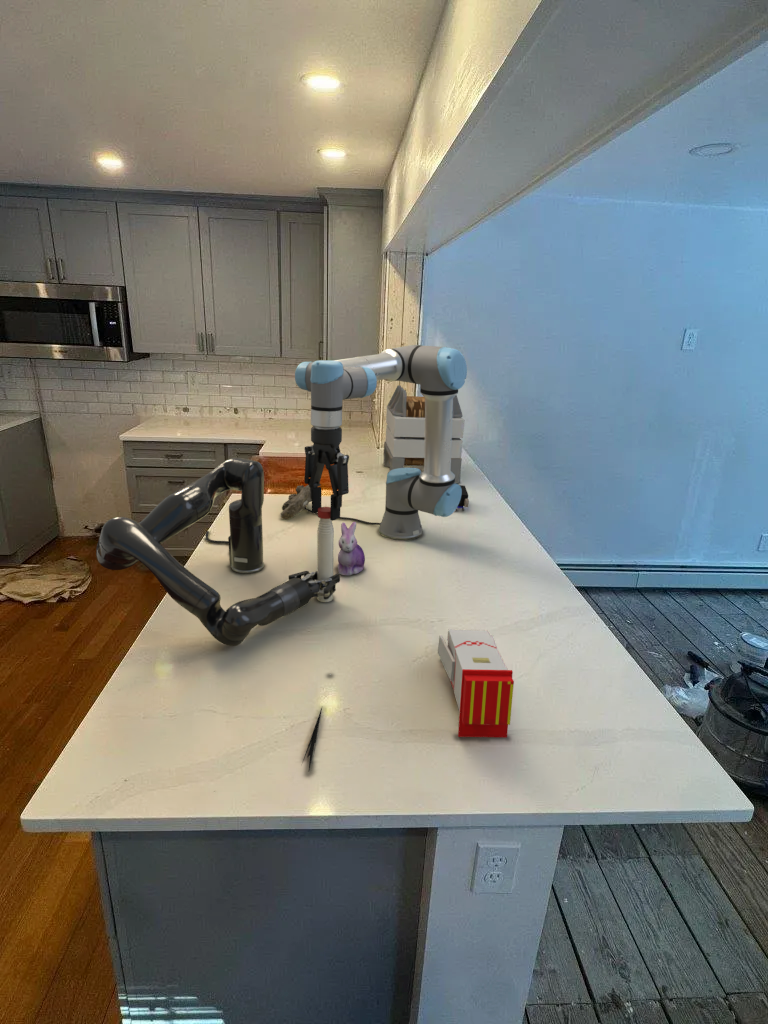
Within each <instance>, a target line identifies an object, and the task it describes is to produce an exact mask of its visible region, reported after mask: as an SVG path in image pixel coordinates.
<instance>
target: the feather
mask: <svg viewBox="0 0 768 1024" xmlns="http://www.w3.org/2000/svg"><path fill="white" fill-rule="evenodd" d="M329 675H330V676H331V675H332V674H331V673H330V674H329ZM322 710H323V707H321V708H320V710H319V713H318V716H317V719H316V723H315V725H314V728H313V731H312V733H311V737H310V739H309V742H308V745H307V748H306V751H305V754H304V757H303V760H302V763H301V767H302V765H303V763H304V761H305V758H308V759H309V760H308V762H307V763H308V764H307V766H308V771H310V770H311V766H312V765H311V764H312V760H313V757H315V756H314V755H315V751H316V749H315V746H317V739H318V733H319V729H320V722H321V717H322V712H323V711H322ZM313 754H314V755H313ZM306 755H307V757H306Z"/></svg>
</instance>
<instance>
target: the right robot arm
mask: <svg viewBox="0 0 768 1024" xmlns="http://www.w3.org/2000/svg"><path fill="white" fill-rule="evenodd" d="M467 366H468V365H467V361H466V358H465V356H464V355H463V354H462V352H461V351H460V350H459V349H457V348H453V347H448V346H437V345H436V346H435V345H420V344H410V345H403V346H399V347H393V348H386V349H384V350H382V351H381V352H379V353H377V354H368V355H361V356H356V357H355V356H354V357H348V358H341V359H334V360H327V359H325V360H323V359H321V360H314V361H302V362H300V363H299V364H298V365H297V367H296V368H295V372H294V381H295V384H296V385H297V387H298V388H299V389H300V390H304V391H306V392H308V393H309V392H310V425H311V428H310V441H311V443H313V444H312V445H307V446H304V454H305V461H304V484H305V485H309V487H310V493H311V494H310V497H311V499H312V501H311V509H310V508H307V509H308V510H309V512H308V513H311V514H313V515H317V516H318V508H320V507H322V484H321V480H322V475H323V471H324V468H325V469H326V470H327V471H328V476H329V481H330V486H331V490H332V494H330V507H331V511H330V520H332V522H333V521H336V520H347V521H353V522H358V523H362V524H366V525H371V526H379V527H378V533H379V534H380V535H381V536H382V537H385V538H387V539H389V540H395V541H410V540H415V539H418V538H420V537H421V536H422V535H423V525H422V524H421V518H420V515H419V511H420V512H423V513H427V514H430V515H433V516H435V517H442V518H447V517H450V516H452V515H453V514H454V512H455V511H456V508H457V506H458V505H459V502H460V499H461V495H462V489H461V487H460V485H461V484H459V483H455V475H454V474H453V473H452V472H451V443H452V413H453V398H454V397H455V396H456V395H457V396H458V394H459V390H460V389H461V388H462V387H463V386H464V385H465V382H466V379H467V375H468V367H467ZM383 380H384V381H386V382H388V383H389V382H402V383H409V384H410V383H411V384H415V385H419V386H420V387H419V392H420V394H421V396H422V397H425V443H424V466H423V471H422V470H421V469H420V468H417V467H404V468H398V469H394V470H391V471H390V470H388V472H387V475H386V480H385V504H384V505H385V507H384V508H385V509H384V513H383V515H382V519H381V522H370V521H365V520H362V519H358V518H354V517H346V516H341V508H342V507H343V496H344V495H348V494H349V493H350V491H349V490H350V489H349V465H348V464H349V461H350V456H349V455H348V454H344V453H342V452H341V449H340V444H341V443H342V441H343V428H342V427H341V426H342V425H343V401H345V400H353V399H363V398H365V397H369V396H372V395H373V394H374V392H375V391H376V388H377V383H378V381H383ZM457 509H458V508H457ZM303 510H305V511H307V510H306V509H305V508H304V509H303Z"/></svg>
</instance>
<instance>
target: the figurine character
mask: <svg viewBox="0 0 768 1024" xmlns="http://www.w3.org/2000/svg"><path fill="white" fill-rule="evenodd" d="M459 485H460V487H461V489H462V495H461V499H460V502H459V505H458V506H457V508H456V510H455V511H456V512H457V511H458V509H461V511H462V512H464V511H465V508H469V505H470V500H469V492H468V490H467V488H466V485H464V484H463V485H461V484H459Z"/></svg>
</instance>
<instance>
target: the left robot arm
mask: <svg viewBox="0 0 768 1024" xmlns="http://www.w3.org/2000/svg"><path fill="white" fill-rule="evenodd" d="M264 471H265V470H264V468H263V464H261V462H259V461H257V460H255V459H248V458H242V457H230V458H228V459H226V460H224V461H223V462H221V463H220V464H219V465H218V466H216V467H215V468H214V469H212V470H211V471H209V472H207V473H206V474H205V475H203V476H201V477H200V478H198V479H195V480H193V481H192V482H190V483H189V484H187V485H184V486H182V487H181V488H179V489H176V490H175V491H174V492H172V493H170V494H169V495H167V496H166V497H165V498H163V499H162V500H161V501H160V502H159V503H158V504H157V505H156V506H155V507H154V508H153V509H152V510H151V511H150V512H149V513H148V514H147V515H146V517H144V518H143V519H142V520H141V521H139V522H138V521H137V520H134V519H133V518H130V517H127V516H115V517H112V518H110V519H108V520H107V521H106V522H105V523H104V524H103V526H102V528H101V531H100V533H99V537H98V540H97V543H96V549H95V550H96V552H95V556H96V560H97V562H98V563H99V565H100V566H101V567H103V568H105V569H106V570H111V571H122V570H125V569H129V568H131V567H133V566H134V565H135V564H137V563H139V562H140V563H141V564H143V565H144V567H146V568H147V569H148V570H149V571H150V573H152V574H153V576H154V577H155V578H156V579H157V581H158V582H159V584H160V586H161V587H162V588H163V589H164V591H165V592H166V594H168V596H169V597H170V598H171V599H172V600H173V601H174V602H175V603H177V604H178V605H179V606H180V607H182V608H184V609H185V610H186V611H187V612H188V613H190V614H192V615H193V616H195V617H196V618H197V620H199V622H200V623H201V624H202V626H203V627H204V628H205V629H206V630H207V631H208V632H209V633H210V634H211V636H212V637H213V638H214V639H215V640H216V641H218V642H219V643H220V644H222V645H225V646H228V647H236V646H239V645H241V644H242V643H243V642H244V641H245V640H246V638H247V637H248V636H249V634H250V633H251V631H252V630H253V629H254V628H256V627H257V626H260V627H263V626H269V625H270V624H272V623H274V622H276V621H277V620H279V619H281V618H283V617H286V616H289V615H291V614H292V613H294V612H295V611H298V610H300V609H301V608H303V607H305V606H306V605H308V604H309V602H310V601H311V600H312V599H313V598H317V596H318V595H320V596H324V599H325V600H327V599H329V597H330V596H331V595H332V594H333V595H334V593H335V592H336V591H337V589H336V585H337V584H338V583H340V582H341V574H339V572H337V573H335V574H333V576H331V577H329V578H328V579H324V580H323V579H319V580H317V570H316V571H311V572H310V571H309V570H303V571H301V572H295V573H292V574H289V575H288V579H287V580H286V581H284V582H282V583H280V584H279V585H276V586H274V587H273V588H271V589H270V590H268V591H266V592H264V593H262V594H260V595H258V596H257V597H254V598H248V599H244V600H239V601H237V602H235V603H234V604H232V605H230V606H229V607H228V608H227V609H226V610H225V609H224V608H223V607H222V606H221V600H222V599H221V594H220V593H219V592H218V591H217V590H216V589H214V588H213V587H211V586H210V585H209V584H207V583H206V582H205V581H203V580H202V579H201V578H199V577H198V576H196V575H195V574H194V573H192V572H191V571H190V570H189V569H188V568H186V567H185V566H184V565H183V564H182V563H181V562H179V561H178V560H177V559H176V558H175V557H174V556H173V555H172V554H171V553H170V552H169V551H168V550H167V549H166V548H165V547H164V546H163V545H162V544H163V543H164V542H166V541H168V540H169V539H171V538H173V537H174V536H176V535H177V534H179V533H181V532H183V531H184V530H186V529H187V528H189V527H191V526H193V525H194V524H196V523H197V522H199V521H200V520H202V519H204V518H205V517H206V516H207V515H208V514H209V513H210V512H211V510H212V509H213V507H214V503H215V500H216V498H217V497H218V496H220V495H222V494H223V493H225V492H227V491H231V490H233V491H239V492H241V493H240V495H241V496H240V497H241V499H236V500H234V501H231V502H230V503H229V505H228V518H229V519H228V520H229V536H228V538H227V540H213V539H211V538H209V533H210V531H209V530H206V532H205V535H204V536H206V537H205V540H206V541H207V542H209V543H212V544H226V545H228V557H229V567H230V568H231V570H232V571H233V572H236V573H239V574H253V573H257V572H260V571H261V570H264V569H263V568H264V567H265V563H264V540H263V539H264V538H263V513H262V512H263V505H264V501H265V498H264V497H265V472H264ZM302 576H303V577H302ZM326 583H327V586H325V584H326Z"/></svg>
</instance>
